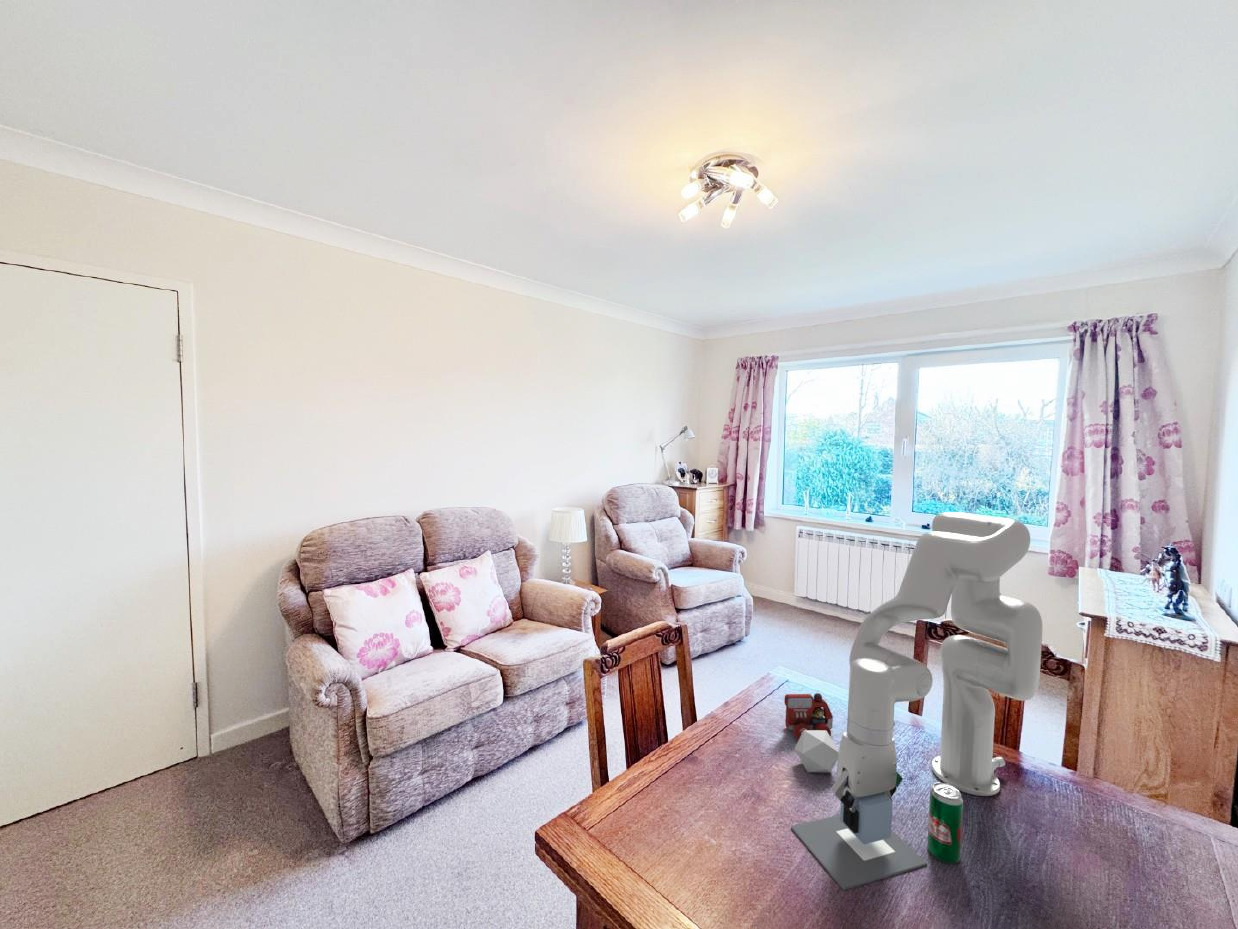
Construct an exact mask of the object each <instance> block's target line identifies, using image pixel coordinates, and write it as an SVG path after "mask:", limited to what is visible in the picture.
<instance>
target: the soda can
mask: <svg viewBox="0 0 1238 929" xmlns="http://www.w3.org/2000/svg"><path fill="white" fill-rule="evenodd" d="M928 804H929V806H928V808H929V809H928V826H927V844H926V845H927V849H928V851H929V852H930V853H931V855H932V856H933V857H934V858H935V859H936V860H939V861H940V862H942V863H946V864H955V863H958V862H960V860H961V855H962V854H961V852H962V835H963V834H962V833H963V831H962V830H963V819H964V818H963V814H964V800H963V798H962V794H961V792H960V790H957V789H956V788H954V787H953V786H951V785H948V784H946V783H945V782H934V783H933V785H932V787H931V788H930V789H929V802H928Z"/></svg>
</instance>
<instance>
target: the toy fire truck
mask: <svg viewBox="0 0 1238 929" xmlns="http://www.w3.org/2000/svg"><path fill="white" fill-rule="evenodd" d="M784 705H785V720H784V722H785V727H786V729H787V730H789V731H793V735H794V737H795V738H796V740H797V741H799V739H800V737H801V735H802V733H803V731H804V730H826V731H827V732H828V734H829V736H830V737H831V738H832V731H831V730H832V728H833V722H834V719H833V718H834V716H833V713H832V711H831V708H830V707H829V704H828V703H827V702H826V701H825V699H823V696H822V694H821V693H819V692H816V693H814V695H813V696H812V694H809V693H797V694H795V693H788V694H785V695H784Z"/></svg>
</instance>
